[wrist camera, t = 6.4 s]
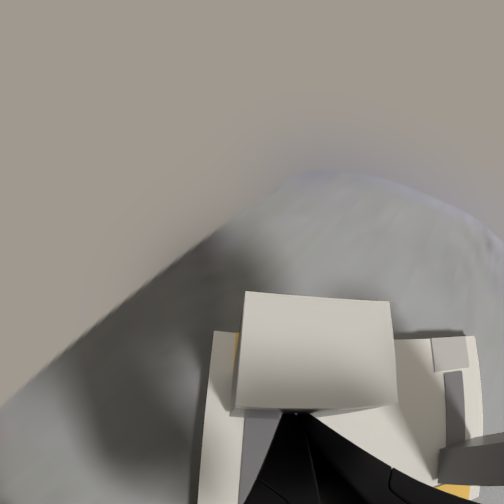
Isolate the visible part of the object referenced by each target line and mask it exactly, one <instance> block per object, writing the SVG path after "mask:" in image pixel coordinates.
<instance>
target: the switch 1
mask: <svg viewBox="0 0 504 504" xmlns="http://www.w3.org/2000/svg"><path fill="white" fill-rule="evenodd" d="M396 403H398V394H397V374H396V360H395V348H394V337H393V328H392V320H391V312H390V304H389V302H388V301H369V300H352V299H336V298H322V297H308V296H296V295H284V294H272V293H261V292H250V291H245V297H244V304H243V310H242V317H241V323H240V329H239V336H238V342H237V349H236V355H235V361H234V368H233V377H232V388H231V400H230V412H229V416H230V417H242V418H257V419H280V418H281V415H282V414H296V415H297V414H311V415H313V416H314V417H315V418H317V417H325V416H332V415H339V414H345V413H351V412H357V411H363V410H368V409H373V408H378V407H383V406H387V405H392V404H396Z"/></svg>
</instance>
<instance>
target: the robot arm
mask: <svg viewBox="0 0 504 504" xmlns="http://www.w3.org/2000/svg"><path fill="white" fill-rule="evenodd" d="M243 504H480V503H477V502H474V501H470V500H467V499H464V498H461V497H458V496H456V495H453V494H450V493H447V492H444V491H442V490H439V489H437V488H434V487H432V486H429V485H427V484H425V483H422V482H420V481H418V480H416V479H414V478H412V477H410V476H408V475H406V474H404V473H403V472H401V471H399V470H397V469H396V468H392V467H391V466H390V465H388V464H386V463H384V462H383V461H381V460H379V459H378V458H376V457H375V456H373V455H371V454H370V453H368V452H366V451H365V450H363V449H362V448H360V447H359V446H357V445H355V444H354V443H352V442H351V441H349V440H348V439H346V438H345V437H343V436H342V435H340V434H339V433H337V432H336V431H334V430H333V429H331V428H330V427H328V426H327V425H325V424H324V423H322V422H321V421H320V420H318V419H317V418H315V417H314V416H313V415H311V414H297V415H296V414H282V415H281V418H280V420H279V423H278V425H277V428H276V431H275V433H274V436H273V438H272V441H271V443H270V446H269V448H268V451H267V453H266V456H265V458H264V461H263V463H262V465H261V468H260V470H259V472H258V475H257V477H256V480H255V481H254V483H253V486H252V488H251V490H250V492H249V494H248V496H247V498H246V500H245V501H244V503H243Z"/></svg>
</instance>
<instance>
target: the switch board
mask: <svg viewBox="0 0 504 504" xmlns="http://www.w3.org/2000/svg"><path fill="white" fill-rule="evenodd" d="M238 336H239V332H236V333H232V332H222V331H214V335H213V344H212V353H211V361H210V371H209V380H208V389H207V399H206V409H205V420H204V430H203V441H202V453H201V465H200V477H199V490H198V504H243V503H244V501H245V500H246V498H247V496H248V494H249V492H250V490H251V488H252V486H253V483H254V481H255V480H256V477H257V475H258V472H259V470H260V468H261V465H262V463H263V461H264V458H265V456H266V453H267V451H268V448H269V446H270V443H271V441H272V438H273V436H274V433H275V431H276V428H277V425H278V423H279V420H280V419H257V418H242V417H230V416H229V412H230V400H231V388H232V377H233V368H234V361H235V355H236V349H237V342H238ZM394 348H395V360H396V374H397V394H398V403H396V404H392V405H387V406H383V407H378V408H373V409H368V410H363V411H357V412H351V413H345V414H339V415H332V416H325V417H317V419H318V420H320V421H321V422H322V423H324V424H325V425H327V426H328V427H330V428H331V429H333V430H334V431H336V432H337V433H339V434H340V435H342V436H343V437H345V438H346V439H348V440H349V441H351V442H352V443H354V444H355V445H357V446H359V447H360V448H362V449H363V450H365V451H366V452H368V453H370V454H371V455H373V456H375V457H376V458H378V459H379V460H381V461H383V462H384V463H386V464H388V465H390V466H391V467H392V468H396V469H397V470H399V471H401V472H403V473H404V474H406V475H408V476H410V477H412V478H414V479H416V480H418V481H420V482H422V483H425V484H427V485H429V486H432V487H434V488H437V489H439V490H442V491H444V492H447V493H450V494H453V495H456V496H458V497H461V498H464V499H467V500H472V499H474V498H476V497H478V496H479V490H480V486H467V485H450V484H438V471H439V450H440V449H441V448H444V447H447V446H451V445H454V444H457V443H460V442H463V441H466V440H469V439H471V438H474V437H479V436H483V411H482V393H481V381H480V371H479V363H478V355H477V348H476V342H475V336H466V337H465V336H459V337H443V338H431V339H402V340H394Z"/></svg>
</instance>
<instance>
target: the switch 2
mask: <svg viewBox="0 0 504 504" xmlns="http://www.w3.org/2000/svg"><path fill="white" fill-rule="evenodd" d="M438 484H450V485H467V486H504V432H502V433H497V434H491V435H486V436H479V437H474V438H471V439H469V440H466V441H463V442H460V443H457V444H454V445H451V446H447V447H444V448H441V449H440V450H439V471H438Z"/></svg>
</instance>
